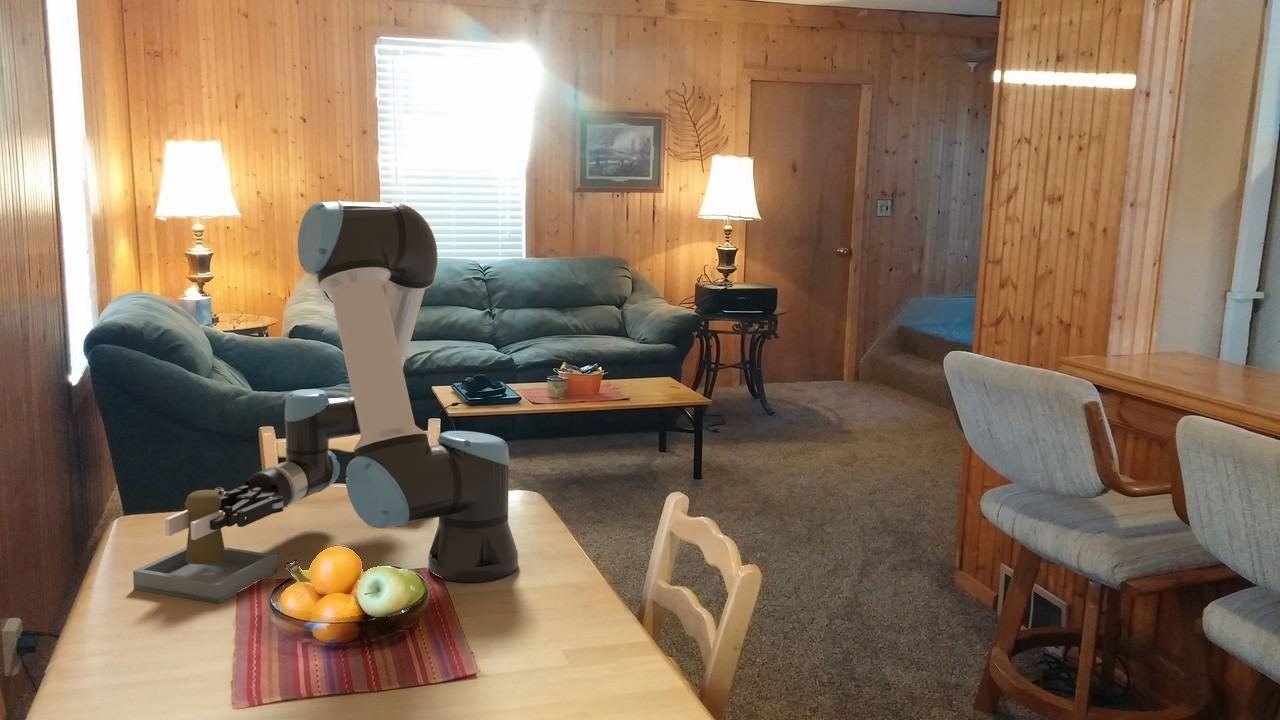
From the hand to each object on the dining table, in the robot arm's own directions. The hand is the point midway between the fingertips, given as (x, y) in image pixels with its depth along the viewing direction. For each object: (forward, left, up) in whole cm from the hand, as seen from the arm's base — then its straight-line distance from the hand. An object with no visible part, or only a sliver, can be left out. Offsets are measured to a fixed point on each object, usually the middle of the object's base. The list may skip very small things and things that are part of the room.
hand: (180, 529), depth 157 cm
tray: (0, -5, -10) cm, 12 cm away
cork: (0, -5, -7) cm, 9 cm away
